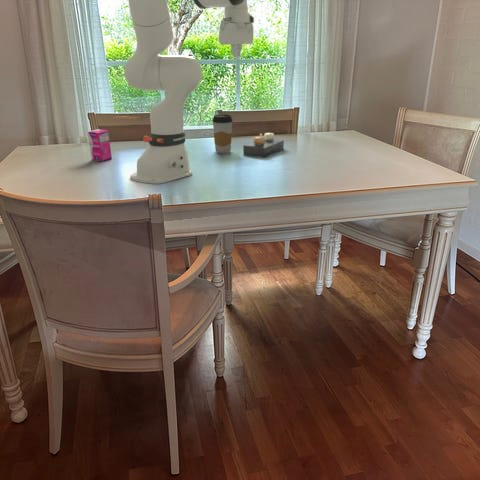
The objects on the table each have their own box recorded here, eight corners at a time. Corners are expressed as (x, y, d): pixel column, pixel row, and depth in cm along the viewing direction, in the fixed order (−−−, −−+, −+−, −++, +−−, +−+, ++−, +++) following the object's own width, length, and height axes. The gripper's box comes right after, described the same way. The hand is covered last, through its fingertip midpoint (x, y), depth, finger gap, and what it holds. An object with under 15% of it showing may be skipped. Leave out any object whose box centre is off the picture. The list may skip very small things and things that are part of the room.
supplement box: (91, 160, 178) (86, 131, 173) (101, 157, 182) (97, 128, 178) (102, 162, 175) (98, 132, 170) (112, 158, 180) (108, 130, 175)
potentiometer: (262, 143, 187) (262, 134, 185) (257, 142, 188) (257, 134, 186) (264, 141, 189) (264, 133, 187) (259, 141, 190) (259, 133, 188)
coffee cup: (234, 149, 193) (233, 114, 187) (231, 154, 185) (231, 117, 179) (214, 149, 194) (213, 114, 188) (211, 154, 186) (210, 117, 180)
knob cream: (270, 150, 190) (271, 135, 187) (262, 149, 192) (262, 134, 189) (275, 149, 193) (275, 133, 190) (266, 148, 195) (267, 132, 192)
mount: (264, 157, 180) (265, 147, 178) (243, 154, 185) (243, 145, 183) (283, 149, 193) (283, 140, 192) (263, 146, 198) (263, 137, 196)
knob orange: (260, 155, 183) (260, 138, 180) (252, 154, 185) (252, 137, 182) (265, 153, 186) (265, 137, 183) (256, 152, 188) (257, 136, 185)
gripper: (228, 16, 161) (229, 58, 167) (256, 18, 177) (256, 56, 183) (214, 17, 164) (215, 58, 170) (242, 18, 180) (242, 56, 186)
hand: (236, 57), depth 176 cm, fingers closed
